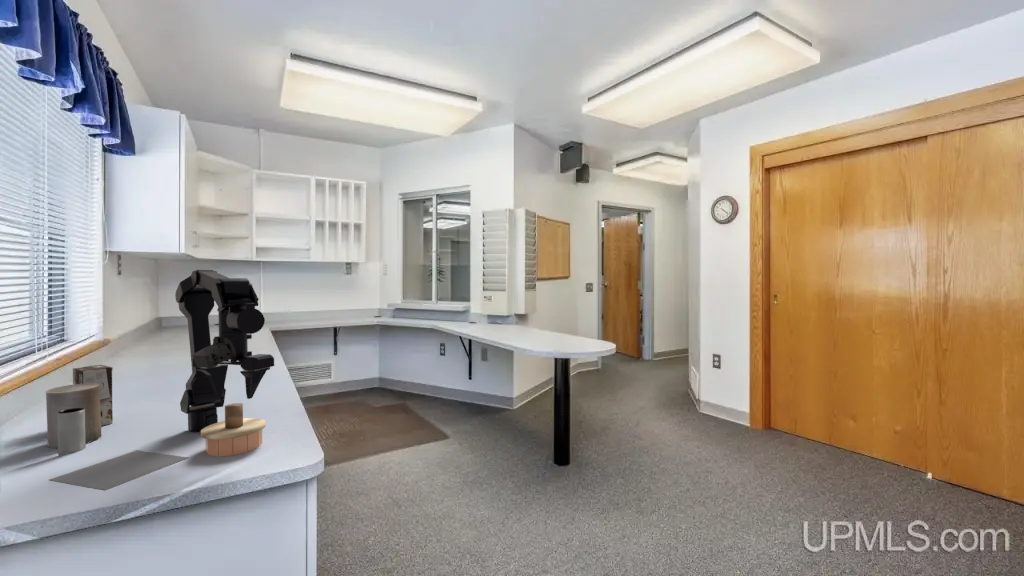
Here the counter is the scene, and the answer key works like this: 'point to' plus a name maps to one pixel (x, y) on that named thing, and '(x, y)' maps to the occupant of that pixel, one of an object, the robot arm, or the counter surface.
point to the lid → (233, 424)
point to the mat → (118, 470)
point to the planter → (71, 430)
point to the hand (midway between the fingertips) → (234, 397)
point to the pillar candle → (74, 398)
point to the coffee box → (104, 379)
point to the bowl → (233, 444)
